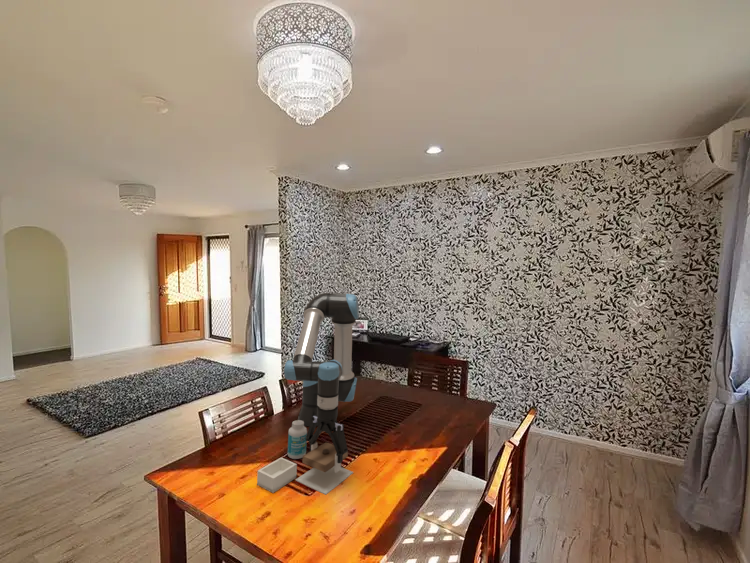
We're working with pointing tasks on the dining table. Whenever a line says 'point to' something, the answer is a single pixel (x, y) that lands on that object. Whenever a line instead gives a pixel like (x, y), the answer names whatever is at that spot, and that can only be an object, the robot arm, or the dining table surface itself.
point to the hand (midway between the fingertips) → (325, 465)
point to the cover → (322, 457)
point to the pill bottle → (297, 440)
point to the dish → (276, 474)
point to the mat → (324, 479)
